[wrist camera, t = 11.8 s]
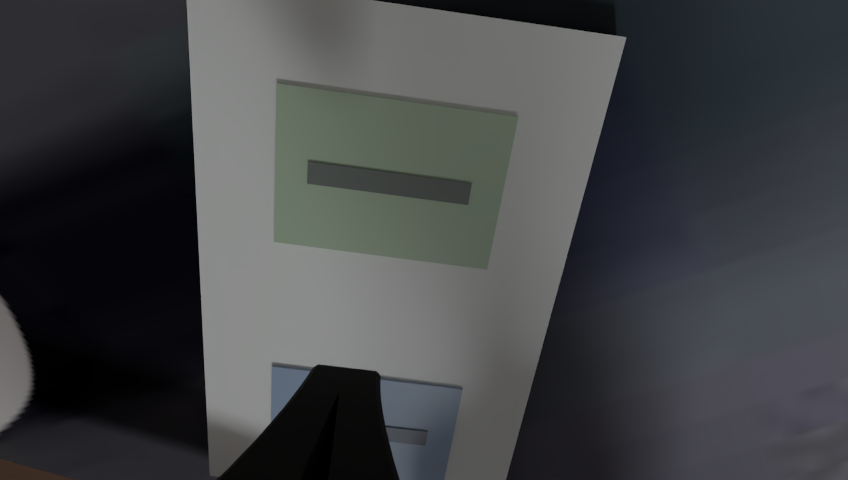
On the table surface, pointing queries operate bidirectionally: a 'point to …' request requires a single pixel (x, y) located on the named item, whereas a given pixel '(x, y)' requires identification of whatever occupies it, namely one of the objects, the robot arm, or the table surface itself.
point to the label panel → (387, 212)
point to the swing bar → (25, 472)
